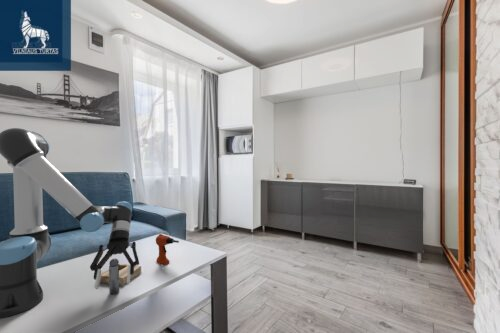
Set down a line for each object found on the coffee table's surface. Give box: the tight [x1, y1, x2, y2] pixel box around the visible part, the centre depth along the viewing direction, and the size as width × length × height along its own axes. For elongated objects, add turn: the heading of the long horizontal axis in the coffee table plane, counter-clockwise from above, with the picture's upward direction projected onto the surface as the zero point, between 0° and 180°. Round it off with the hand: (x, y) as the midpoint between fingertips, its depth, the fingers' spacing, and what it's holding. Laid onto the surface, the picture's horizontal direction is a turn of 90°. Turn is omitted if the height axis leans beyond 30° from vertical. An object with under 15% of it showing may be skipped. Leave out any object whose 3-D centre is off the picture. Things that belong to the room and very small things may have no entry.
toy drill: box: [155, 233, 180, 266], centre depth 120 cm, size 5×19×15 cm, turn 53°
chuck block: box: [99, 263, 142, 286], centre depth 107 cm, size 12×12×3 cm
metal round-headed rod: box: [108, 258, 120, 296], centre depth 94 cm, size 3×3×14 cm
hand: (112, 285), depth 91 cm, fingers open, 10 cm apart
